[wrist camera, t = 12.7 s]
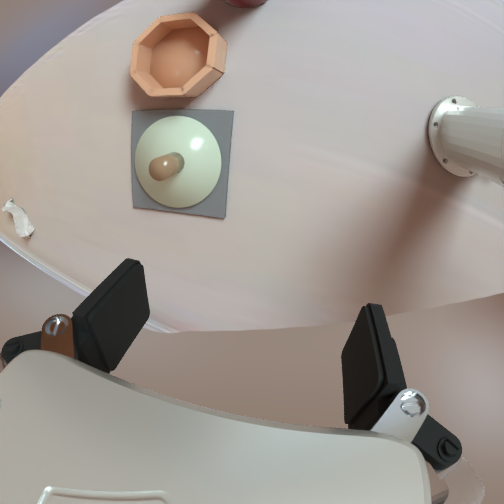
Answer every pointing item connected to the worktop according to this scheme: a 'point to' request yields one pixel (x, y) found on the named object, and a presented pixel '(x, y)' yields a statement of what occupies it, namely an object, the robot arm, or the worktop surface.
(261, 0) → the soda can
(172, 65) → the bowl
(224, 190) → the mat
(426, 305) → the worktop surface
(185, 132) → the lid
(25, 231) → the fabric
